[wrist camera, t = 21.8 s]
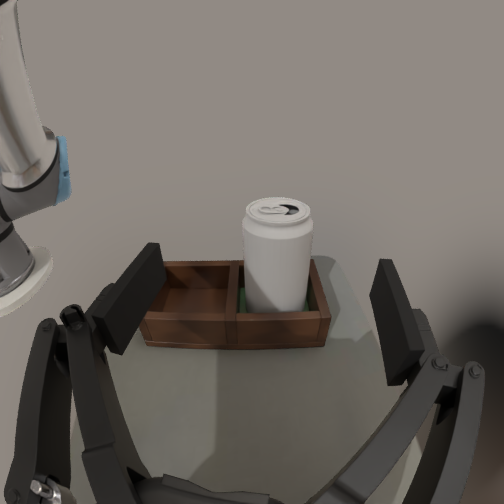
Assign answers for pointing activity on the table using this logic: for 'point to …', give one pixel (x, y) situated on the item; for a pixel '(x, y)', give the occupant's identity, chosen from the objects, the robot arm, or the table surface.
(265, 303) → the beverage can
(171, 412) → the table surface
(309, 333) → the wooden compartment tray
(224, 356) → the table surface
